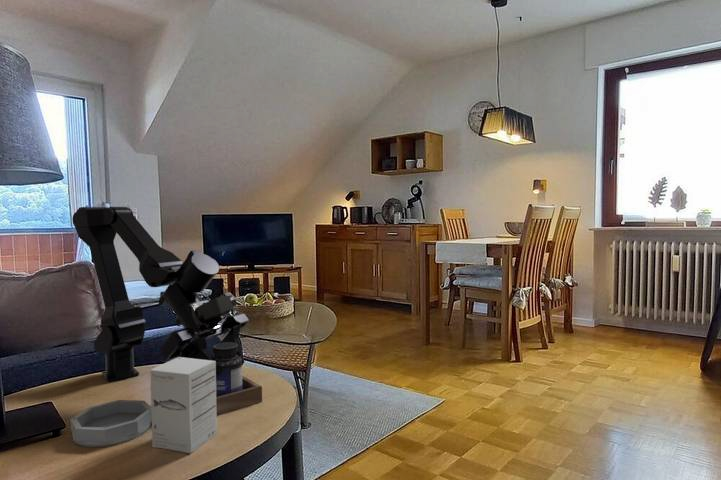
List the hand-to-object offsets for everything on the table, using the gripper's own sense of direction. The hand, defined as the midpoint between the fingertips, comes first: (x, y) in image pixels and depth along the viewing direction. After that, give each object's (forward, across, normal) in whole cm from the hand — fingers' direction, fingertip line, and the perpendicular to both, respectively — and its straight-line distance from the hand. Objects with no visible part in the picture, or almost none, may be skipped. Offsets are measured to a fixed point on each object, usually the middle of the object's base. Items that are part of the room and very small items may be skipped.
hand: (231, 368), depth 92 cm
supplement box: (+8, -15, +2) cm, 17 cm away
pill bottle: (+4, 0, +6) cm, 7 cm away
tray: (-2, -18, +12) cm, 22 cm away
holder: (+4, 0, +6) cm, 7 cm away
